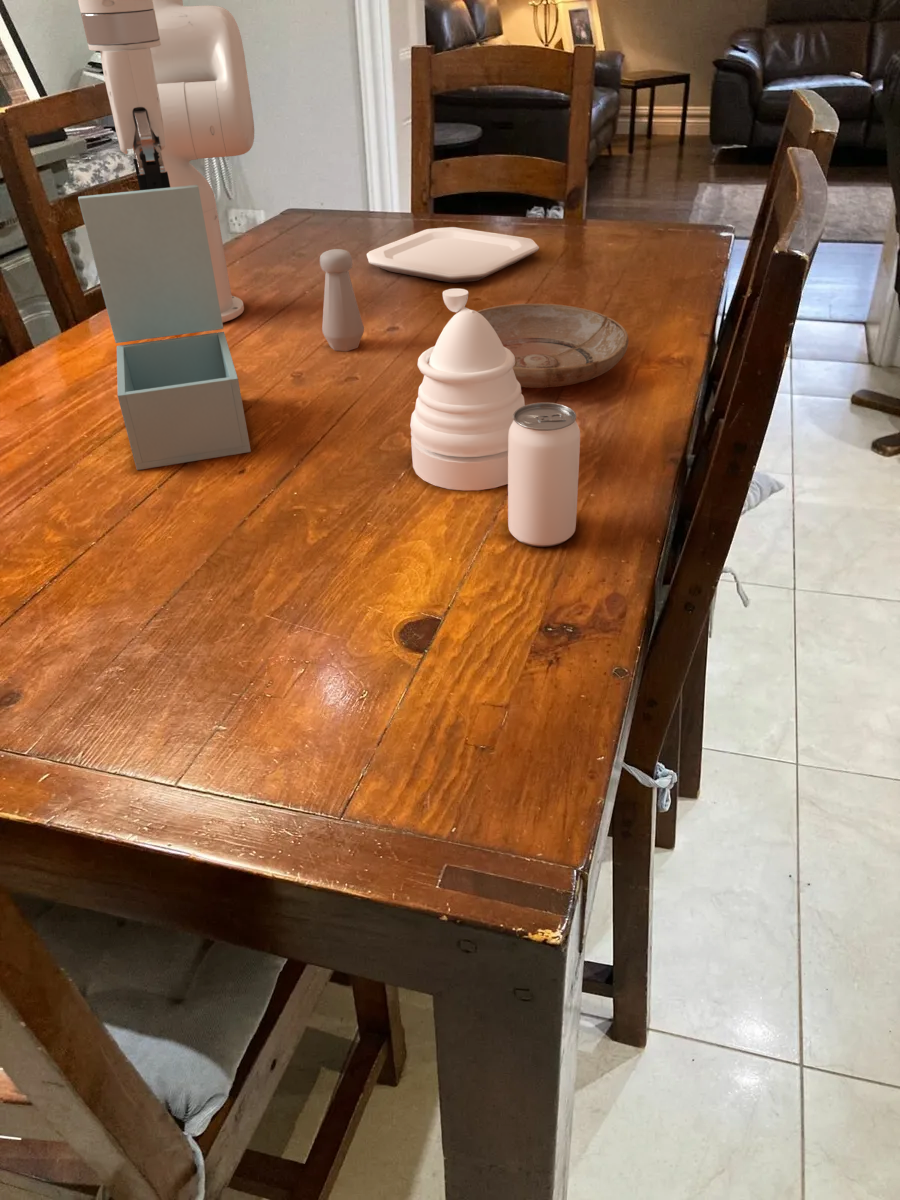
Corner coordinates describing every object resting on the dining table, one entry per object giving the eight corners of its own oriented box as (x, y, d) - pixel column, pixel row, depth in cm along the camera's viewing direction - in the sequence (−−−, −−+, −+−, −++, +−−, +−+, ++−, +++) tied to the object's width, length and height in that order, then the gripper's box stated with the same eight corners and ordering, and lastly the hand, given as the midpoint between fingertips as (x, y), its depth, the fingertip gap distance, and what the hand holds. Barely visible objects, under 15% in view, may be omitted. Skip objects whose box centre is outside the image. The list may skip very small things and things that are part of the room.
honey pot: (390, 458, 103) (376, 296, 93) (481, 425, 109) (478, 269, 99) (459, 503, 95) (453, 329, 84) (554, 465, 101) (560, 298, 90)
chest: (251, 452, 106) (237, 378, 101) (136, 470, 103) (117, 395, 98) (236, 399, 118) (224, 331, 113) (133, 414, 116) (116, 345, 110)
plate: (438, 236, 178) (437, 224, 176) (550, 253, 165) (550, 240, 164) (353, 270, 162) (352, 257, 160) (470, 292, 149) (470, 278, 148)
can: (504, 516, 92) (503, 402, 85) (568, 511, 93) (573, 398, 86) (513, 551, 87) (513, 433, 80) (581, 546, 87) (588, 428, 80)
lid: (198, 186, 102) (197, 184, 102) (78, 198, 99) (78, 196, 100) (223, 329, 112) (222, 326, 113) (115, 343, 110) (115, 340, 110)
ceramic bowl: (464, 414, 112) (463, 375, 109) (436, 345, 131) (434, 310, 128) (650, 396, 114) (654, 356, 112) (596, 330, 133) (598, 295, 130)
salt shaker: (358, 354, 129) (349, 258, 122) (319, 352, 130) (307, 257, 123) (369, 339, 134) (361, 245, 126) (331, 337, 135) (321, 245, 127)
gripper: (84, 28, 105) (121, 190, 115) (86, 40, 92) (127, 223, 102) (152, 24, 107) (183, 184, 117) (164, 35, 93) (197, 215, 103)
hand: (157, 202), depth 109 cm, fingers open, 9 cm apart
